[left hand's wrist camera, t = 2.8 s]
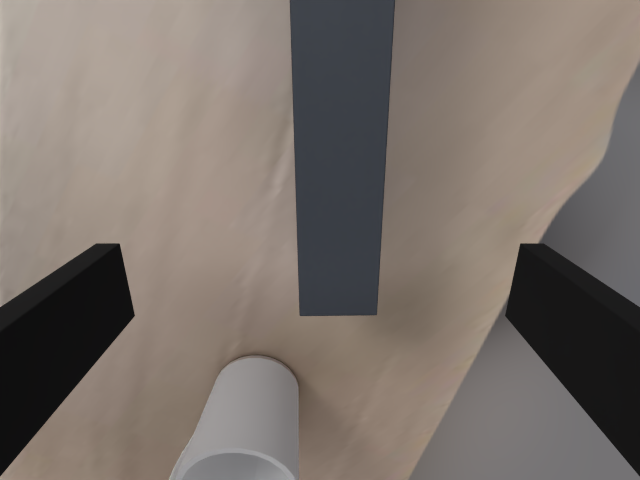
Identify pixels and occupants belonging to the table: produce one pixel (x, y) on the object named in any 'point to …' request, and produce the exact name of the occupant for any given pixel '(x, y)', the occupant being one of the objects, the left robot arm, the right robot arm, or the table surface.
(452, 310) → the table surface
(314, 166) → the beam
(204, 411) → the mug
